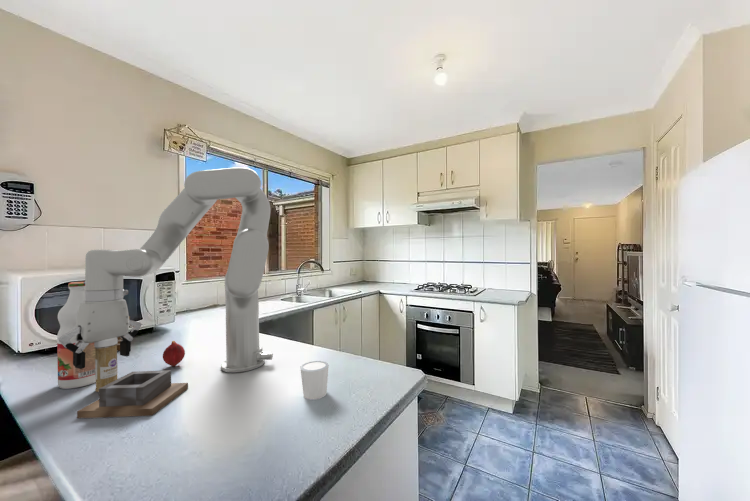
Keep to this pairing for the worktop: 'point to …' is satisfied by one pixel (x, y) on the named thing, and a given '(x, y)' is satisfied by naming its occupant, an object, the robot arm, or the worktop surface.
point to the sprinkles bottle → (105, 362)
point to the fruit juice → (67, 320)
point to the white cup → (314, 379)
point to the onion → (173, 354)
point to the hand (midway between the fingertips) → (103, 361)
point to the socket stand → (134, 395)
